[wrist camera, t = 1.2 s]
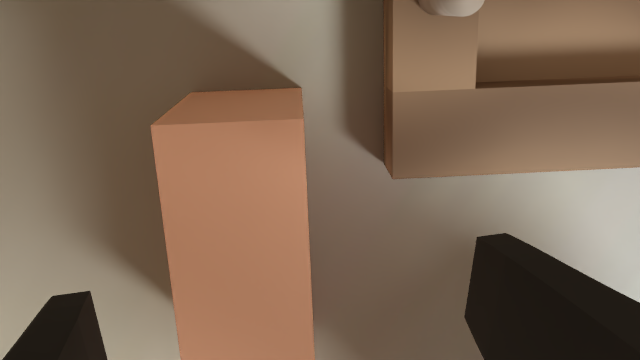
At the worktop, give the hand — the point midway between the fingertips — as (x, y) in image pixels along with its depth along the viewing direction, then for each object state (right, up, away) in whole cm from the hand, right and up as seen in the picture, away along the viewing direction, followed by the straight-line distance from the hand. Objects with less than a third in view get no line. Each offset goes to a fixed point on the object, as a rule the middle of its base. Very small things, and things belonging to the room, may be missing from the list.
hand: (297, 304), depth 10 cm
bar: (-2, +1, +11) cm, 12 cm away
